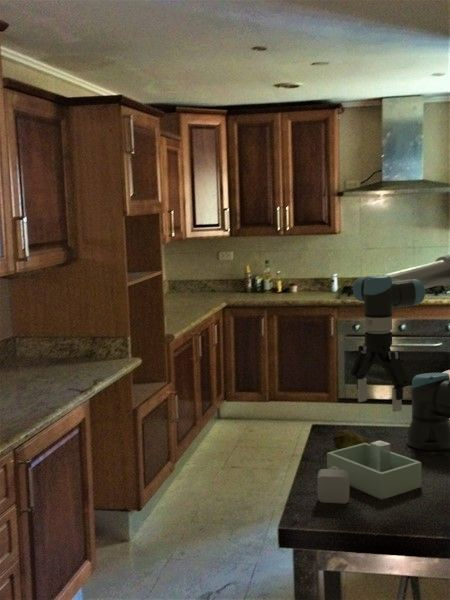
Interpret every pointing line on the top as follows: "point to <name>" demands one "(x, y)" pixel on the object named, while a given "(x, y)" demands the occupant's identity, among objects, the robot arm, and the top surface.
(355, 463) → the open box
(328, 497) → the wall hook
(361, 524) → the top surface
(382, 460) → the grey l-shaped block
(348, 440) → the potato
